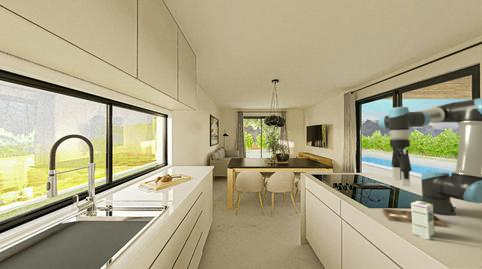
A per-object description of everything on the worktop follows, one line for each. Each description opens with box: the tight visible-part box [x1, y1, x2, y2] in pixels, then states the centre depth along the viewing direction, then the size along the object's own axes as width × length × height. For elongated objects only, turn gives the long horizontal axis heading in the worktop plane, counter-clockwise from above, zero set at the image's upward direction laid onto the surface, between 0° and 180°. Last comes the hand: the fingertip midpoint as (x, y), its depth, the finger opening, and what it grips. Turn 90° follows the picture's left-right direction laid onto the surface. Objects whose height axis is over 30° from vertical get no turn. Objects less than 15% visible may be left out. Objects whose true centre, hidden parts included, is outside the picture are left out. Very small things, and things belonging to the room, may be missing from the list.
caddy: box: [381, 208, 446, 228], centre depth 102 cm, size 22×12×3 cm, turn 67°
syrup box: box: [410, 200, 436, 241], centre depth 86 cm, size 6×6×14 cm
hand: (401, 183), depth 93 cm, fingers open, 13 cm apart
